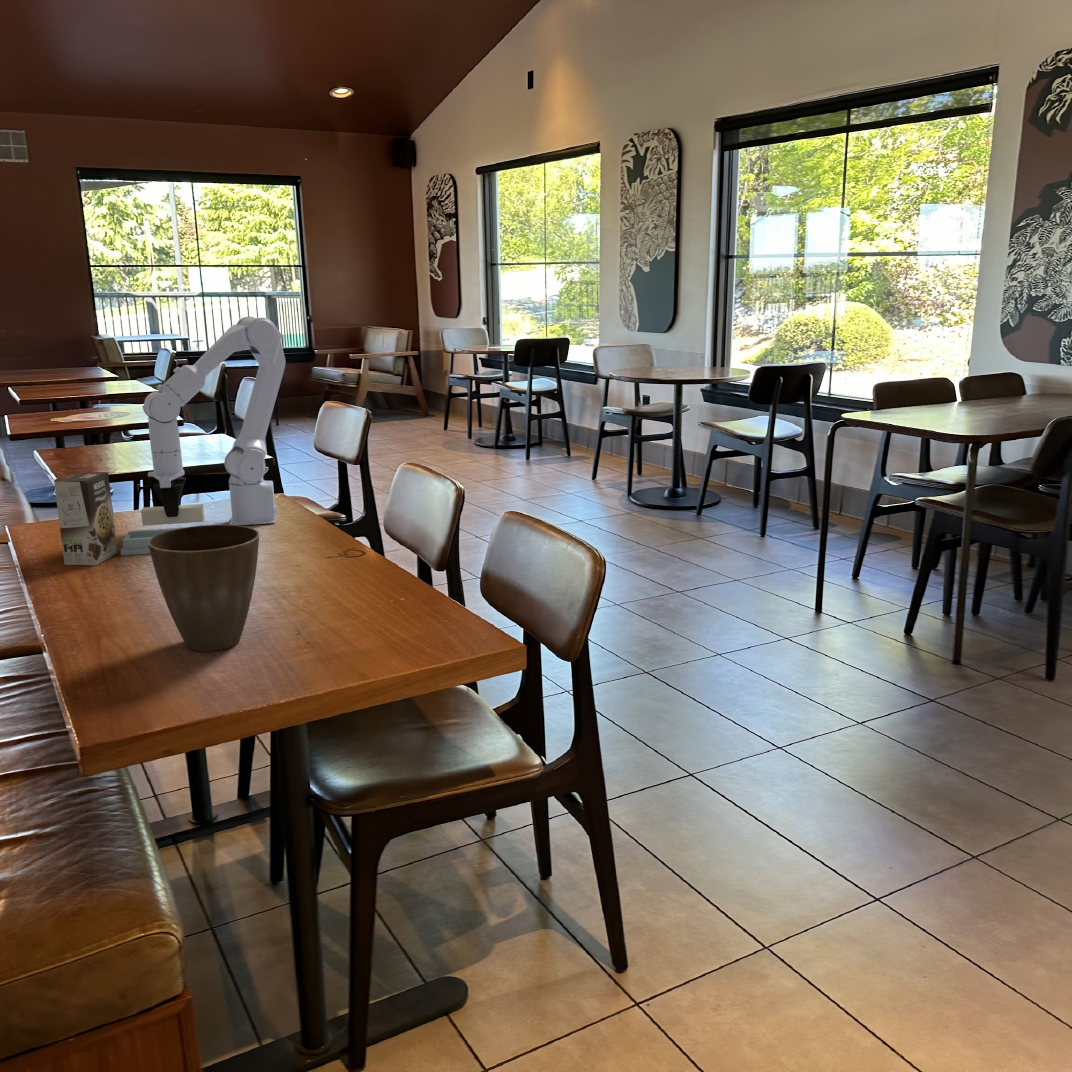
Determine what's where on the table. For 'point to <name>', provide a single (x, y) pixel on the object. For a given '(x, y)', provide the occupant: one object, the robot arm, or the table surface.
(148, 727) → the table surface
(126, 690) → the table surface
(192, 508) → the beige rectangular block
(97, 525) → the food box
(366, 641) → the table surface
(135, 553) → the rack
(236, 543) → the plant pot
